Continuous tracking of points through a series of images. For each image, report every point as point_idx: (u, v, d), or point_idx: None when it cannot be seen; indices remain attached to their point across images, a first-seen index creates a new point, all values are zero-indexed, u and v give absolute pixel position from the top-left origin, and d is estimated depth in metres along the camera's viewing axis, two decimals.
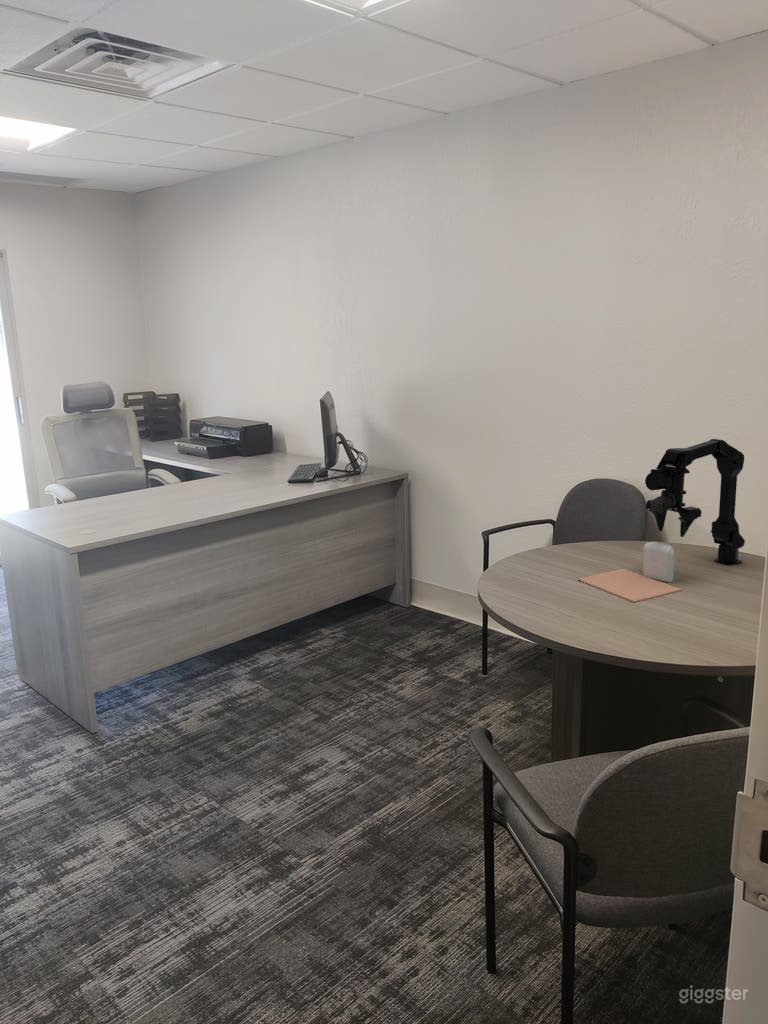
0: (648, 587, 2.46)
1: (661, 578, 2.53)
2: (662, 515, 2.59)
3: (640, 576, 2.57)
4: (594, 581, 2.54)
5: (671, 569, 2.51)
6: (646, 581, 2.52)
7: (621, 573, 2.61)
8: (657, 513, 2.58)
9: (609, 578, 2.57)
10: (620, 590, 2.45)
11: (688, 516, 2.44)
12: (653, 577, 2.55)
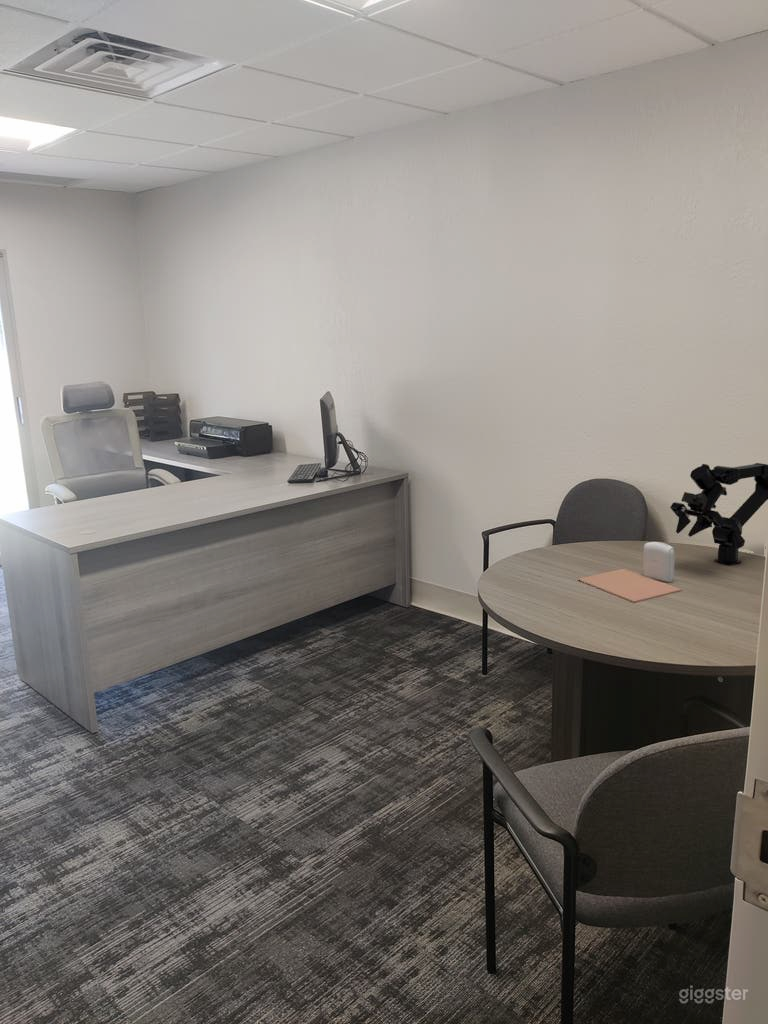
0: (648, 587, 2.46)
1: (661, 578, 2.53)
2: (685, 521, 2.61)
3: (640, 576, 2.57)
4: (594, 581, 2.54)
5: (671, 569, 2.51)
6: (646, 581, 2.52)
7: (621, 573, 2.61)
8: (683, 515, 2.60)
9: (609, 578, 2.57)
10: (620, 590, 2.45)
11: (714, 515, 2.49)
12: (653, 577, 2.55)
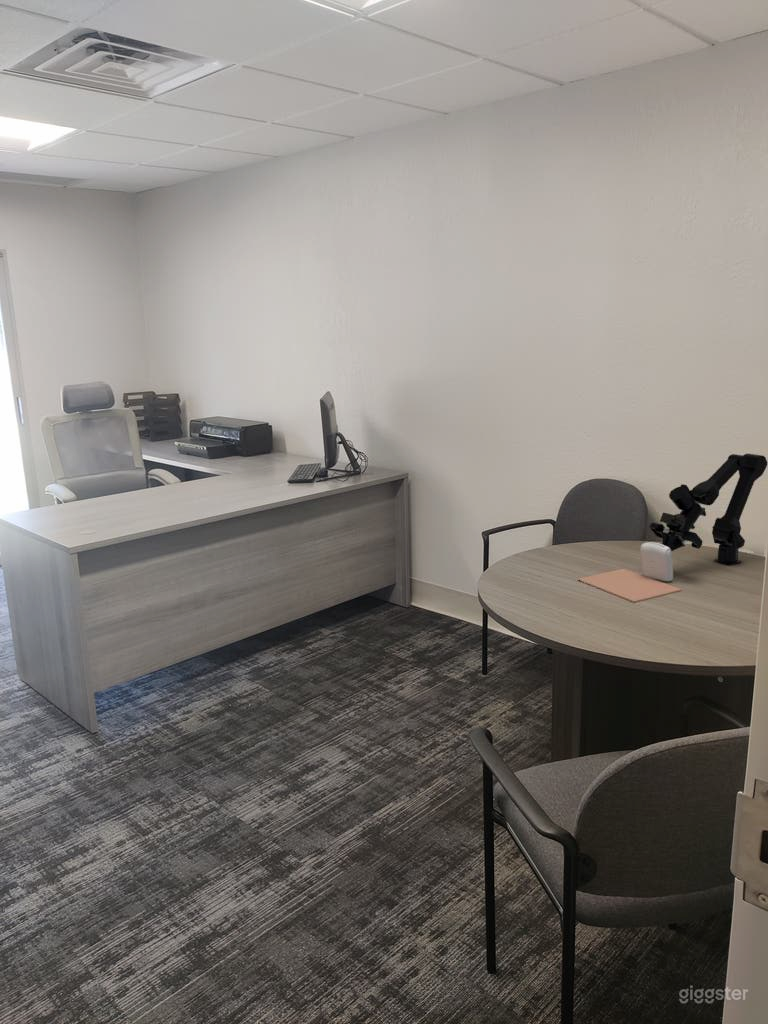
0: (648, 587, 2.46)
1: (661, 578, 2.53)
2: None
3: (640, 576, 2.57)
4: (594, 581, 2.54)
5: (670, 569, 2.51)
6: (646, 581, 2.52)
7: (621, 573, 2.61)
8: (667, 537, 2.56)
9: (609, 578, 2.57)
10: (620, 590, 2.45)
11: (692, 537, 2.47)
12: (653, 577, 2.55)
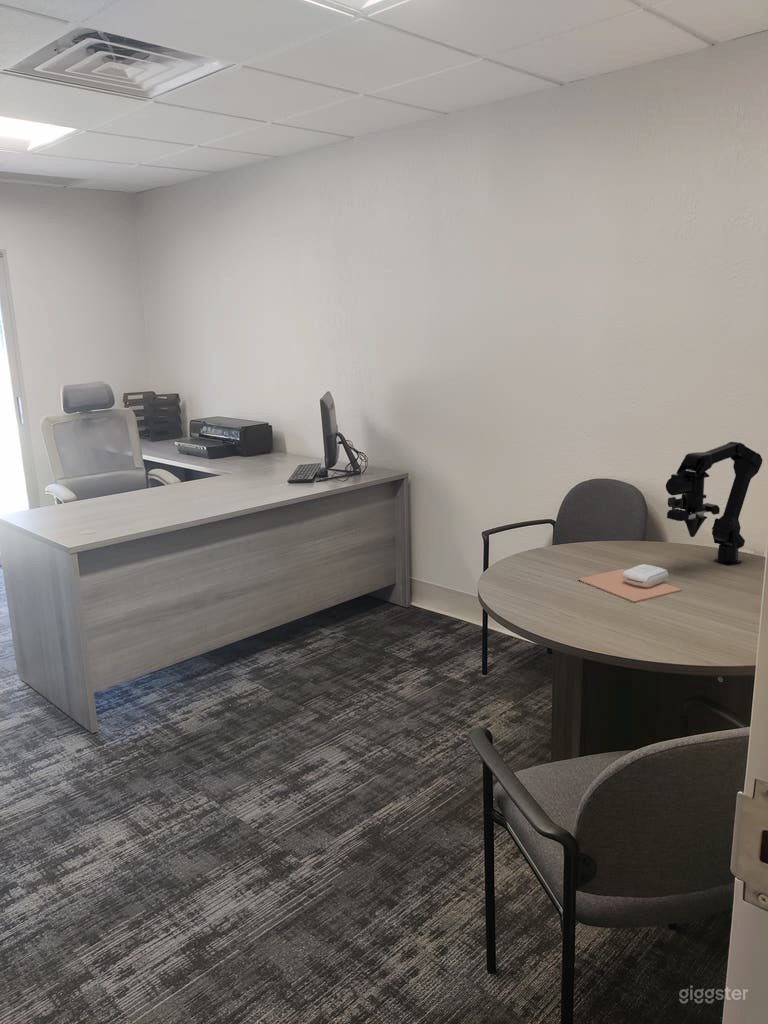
0: (648, 587, 2.46)
1: None
2: None
3: None
4: (594, 581, 2.54)
5: (660, 579, 2.48)
6: None
7: (621, 573, 2.61)
8: None
9: (609, 578, 2.57)
10: (620, 590, 2.45)
11: (667, 515, 2.57)
12: None
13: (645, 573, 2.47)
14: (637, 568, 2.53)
